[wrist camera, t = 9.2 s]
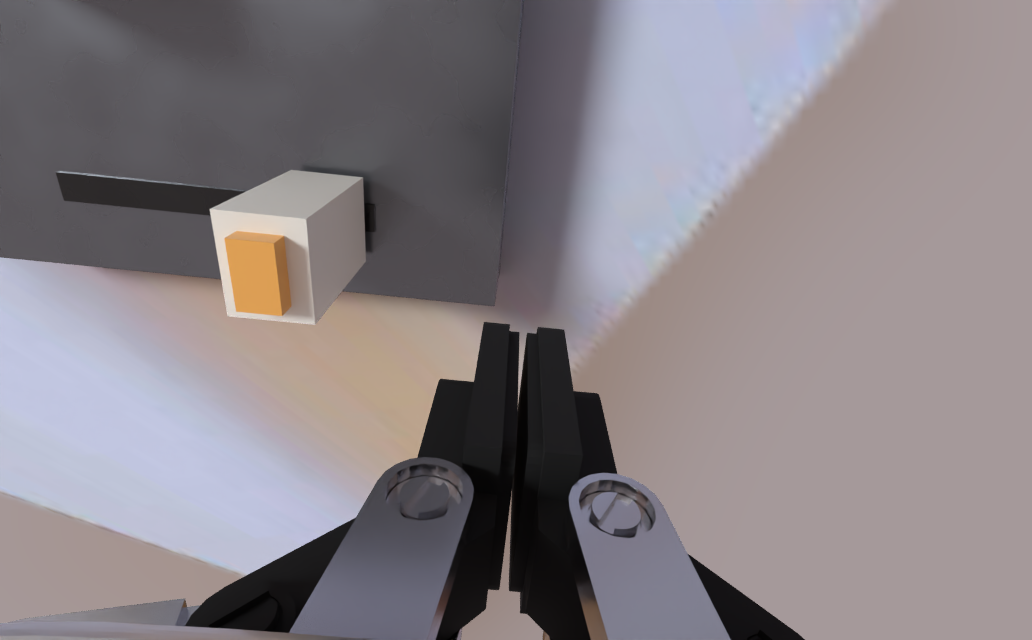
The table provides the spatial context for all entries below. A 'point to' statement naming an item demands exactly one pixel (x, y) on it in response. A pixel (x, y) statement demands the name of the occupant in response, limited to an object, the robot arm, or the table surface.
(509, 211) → the table surface
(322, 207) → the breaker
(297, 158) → the grey slider panel
